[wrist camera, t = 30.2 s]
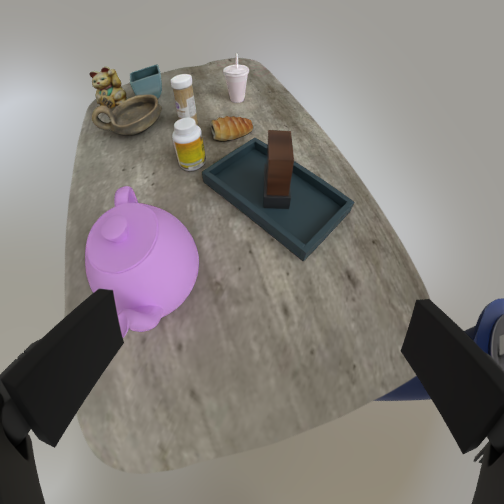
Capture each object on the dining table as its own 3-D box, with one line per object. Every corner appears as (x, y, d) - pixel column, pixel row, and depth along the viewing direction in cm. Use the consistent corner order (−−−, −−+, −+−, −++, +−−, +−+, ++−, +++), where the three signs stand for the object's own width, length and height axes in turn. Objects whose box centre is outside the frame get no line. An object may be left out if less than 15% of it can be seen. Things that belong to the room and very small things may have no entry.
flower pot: (137, 108, 66) (129, 83, 58) (136, 96, 70) (129, 72, 62) (166, 99, 68) (160, 73, 60) (163, 87, 71) (158, 64, 64)
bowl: (167, 131, 59) (159, 97, 51) (100, 155, 57) (86, 124, 48) (161, 106, 66) (154, 76, 57) (103, 127, 63) (91, 99, 54)
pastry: (247, 120, 61) (247, 107, 57) (257, 136, 58) (257, 123, 54) (209, 129, 59) (207, 116, 56) (216, 145, 56) (214, 132, 53)
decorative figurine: (97, 115, 66) (82, 76, 53) (105, 102, 70) (92, 65, 57) (125, 108, 67) (112, 66, 53) (131, 95, 71) (120, 56, 57)
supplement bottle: (210, 166, 53) (203, 125, 44) (183, 175, 52) (173, 135, 43) (201, 150, 56) (194, 111, 47) (176, 159, 54) (166, 121, 45)
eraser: (289, 209, 47) (297, 162, 37) (263, 208, 47) (265, 161, 37) (287, 175, 51) (293, 129, 41) (263, 174, 51) (265, 128, 41)
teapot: (100, 230, 46) (65, 182, 34) (188, 204, 49) (172, 146, 36) (110, 366, 35) (55, 349, 23) (221, 342, 37) (206, 317, 25)
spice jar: (176, 127, 60) (166, 80, 48) (188, 117, 62) (180, 72, 50) (189, 132, 59) (180, 83, 47) (202, 122, 61) (195, 74, 49)
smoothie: (253, 96, 67) (253, 52, 54) (242, 107, 64) (241, 59, 52) (232, 92, 68) (230, 49, 56) (220, 102, 65) (217, 57, 53)
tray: (350, 211, 48) (354, 202, 45) (303, 261, 43) (306, 253, 41) (254, 147, 56) (254, 137, 53) (203, 182, 51) (201, 171, 49)
